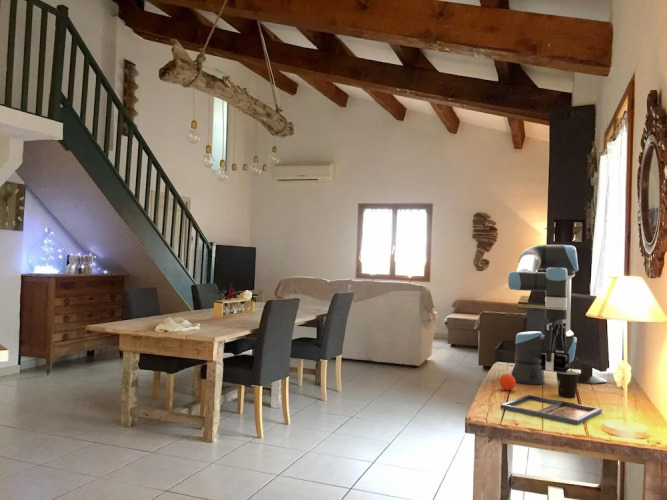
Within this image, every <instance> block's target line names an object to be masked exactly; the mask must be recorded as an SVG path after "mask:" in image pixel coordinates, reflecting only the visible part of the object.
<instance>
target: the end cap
mask: <svg viewBox="0 0 667 500" xmlns="http://www.w3.org/2000/svg"><path fill="white" fill-rule="evenodd" d="M553 353H554V369H553V371H551V372H553V373H556V372H561V373H566V372H567V371H570V366H571V362H570V354H569V353H560V352H553ZM540 358H541V362H540V366H541V368H540V370H542V371H546V372H549V371H548V370H545V367H546V352H543V351H541V354H540Z"/></svg>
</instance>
